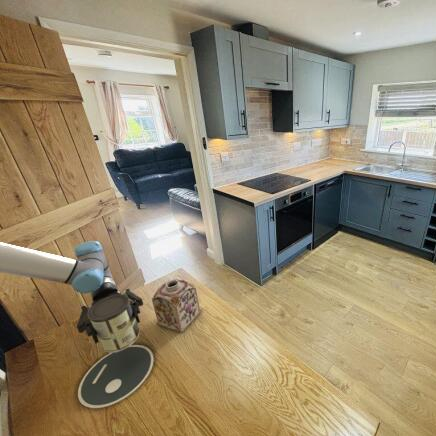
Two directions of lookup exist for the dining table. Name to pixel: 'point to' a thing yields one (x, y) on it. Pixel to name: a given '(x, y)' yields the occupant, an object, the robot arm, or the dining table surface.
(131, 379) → the board
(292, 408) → the dining table surface
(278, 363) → the dining table surface
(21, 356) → the dining table surface
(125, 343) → the coffee can
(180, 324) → the decorative jar
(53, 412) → the dining table surface
